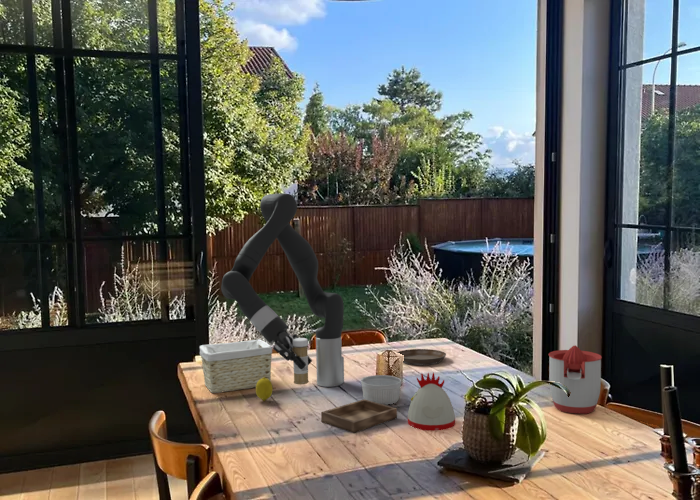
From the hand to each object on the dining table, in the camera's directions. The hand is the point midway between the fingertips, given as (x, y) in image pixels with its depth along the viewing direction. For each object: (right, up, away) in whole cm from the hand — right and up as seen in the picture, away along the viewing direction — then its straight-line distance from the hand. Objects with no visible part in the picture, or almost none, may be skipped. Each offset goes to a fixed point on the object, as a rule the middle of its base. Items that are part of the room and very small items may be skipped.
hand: (306, 365), depth 196 cm
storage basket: (-28, -15, +41) cm, 52 cm away
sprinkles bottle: (-2, -6, +1) cm, 6 cm away
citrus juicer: (+83, -15, +6) cm, 84 cm away
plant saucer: (+42, -12, +75) cm, 87 cm away
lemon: (-15, -16, +21) cm, 31 cm away
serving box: (+16, -16, 0) cm, 23 cm away
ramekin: (+23, -15, +19) cm, 34 cm away
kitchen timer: (+37, -17, -4) cm, 41 cm away
